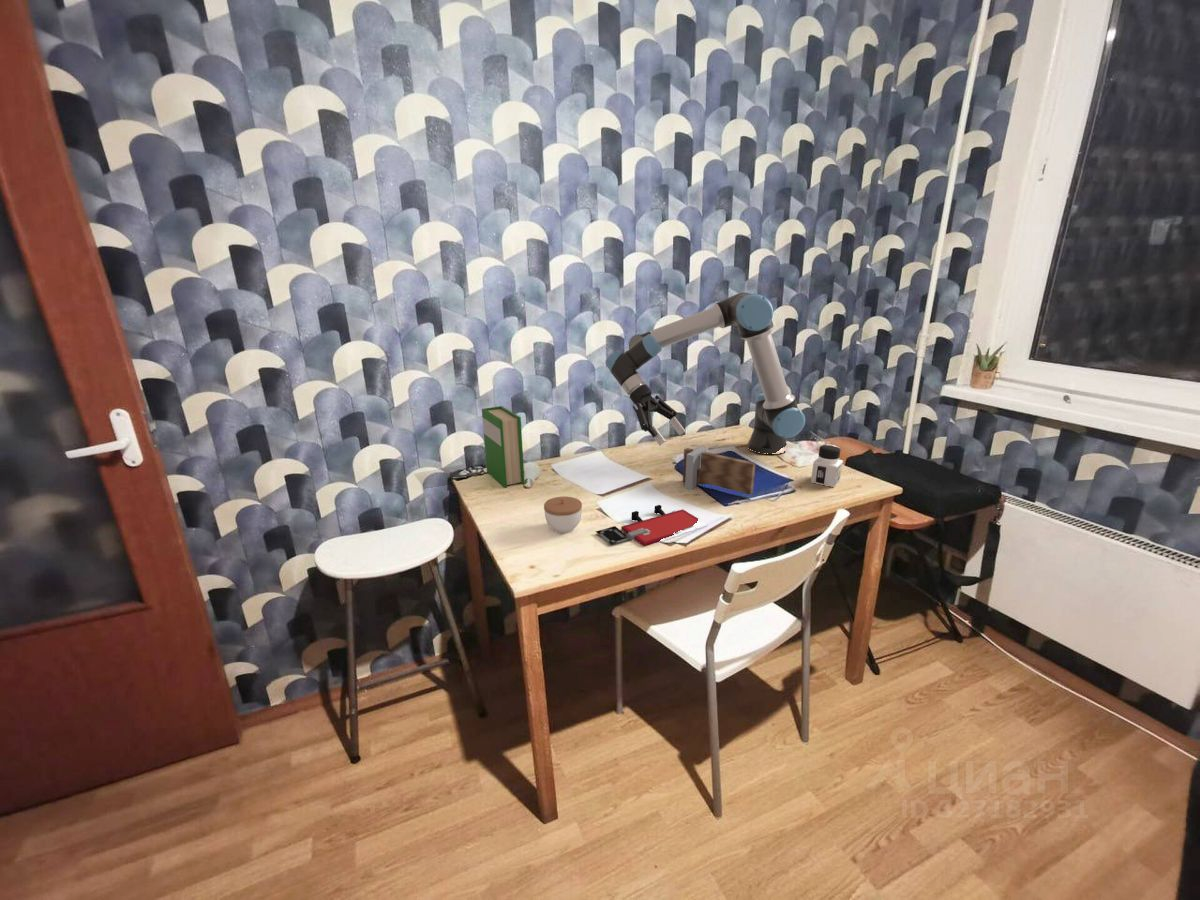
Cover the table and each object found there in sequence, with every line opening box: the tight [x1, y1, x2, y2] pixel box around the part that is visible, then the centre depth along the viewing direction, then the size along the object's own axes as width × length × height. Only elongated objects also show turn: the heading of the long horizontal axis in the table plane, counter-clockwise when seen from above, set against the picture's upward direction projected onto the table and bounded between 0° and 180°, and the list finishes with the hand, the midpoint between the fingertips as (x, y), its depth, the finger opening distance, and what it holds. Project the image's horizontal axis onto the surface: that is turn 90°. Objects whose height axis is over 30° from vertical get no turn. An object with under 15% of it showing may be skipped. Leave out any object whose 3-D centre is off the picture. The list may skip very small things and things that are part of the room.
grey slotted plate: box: [684, 446, 708, 491], centre depth 181 cm, size 2×10×12 cm, turn 142°
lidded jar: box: [543, 495, 583, 534], centre depth 152 cm, size 11×11×9 cm
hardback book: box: [481, 405, 526, 489], centre depth 186 cm, size 18×7×24 cm, turn 31°
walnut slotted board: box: [682, 447, 756, 495], centre depth 176 cm, size 24×2×12 cm, turn 52°
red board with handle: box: [595, 504, 699, 547], centre depth 152 cm, size 30×3×15 cm
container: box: [810, 444, 844, 488], centre depth 182 cm, size 8×8×13 cm
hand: (673, 438), depth 183 cm, fingers open, 13 cm apart
